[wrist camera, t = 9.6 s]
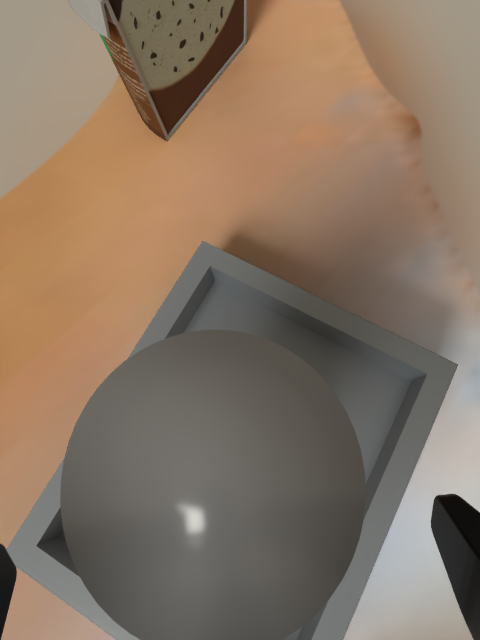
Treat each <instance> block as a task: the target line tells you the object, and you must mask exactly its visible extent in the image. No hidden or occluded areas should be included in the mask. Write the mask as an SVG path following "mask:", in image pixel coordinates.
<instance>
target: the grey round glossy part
mask: <svg viewBox="0 0 480 640" xmlns="http://www.w3.org/2000/svg"><path fill="white" fill-rule="evenodd" d="M365 500H366V484H365V469H364V464H363V458H362V453H361V448H360V445H359V442H358V439H357V436H356V432H355V429H354V427H353V425H352V423H351V420H350V418H349V416H348V414H347V412H346V410H345V408H344V407H343V405H342V403H341V402H340V400H339V398H338V397H337V395H336V394H335V392H334V391H333V390H332V389H331V387H330V386H329V385H328V384H327V382H326V381H325V380H324V379H323V378H322V377H321V376H320V375H319V374H318V373H317V372H316V371H315V370H314V369H313V368H312V367H311V366H310V365H309V364H308V363H306V362H305V361H304V360H302V359H301V358H300V357H298V356H297V355H296V354H294V353H293V352H291V351H289V350H287V349H286V348H284V347H282V346H281V345H279V344H277V343H274V342H272V341H269V340H267V339H265V338H262V337H259V336H255V335H251V334H248V333H244V332H237V331H230V330H201V331H193V332H187V333H183V334H179V335H175V336H172V337H169V338H166V339H164V340H161V341H158V342H156V343H154V344H152V345H150V346H148V347H146V348H144V349H142V350H141V351H139V352H137V353H136V354H134V355H133V356H132V357H130V358H129V359H127V360H126V361H124V362H123V363H122V364H121V365H120V366H119V367H118V368H116V369H115V370H114V371H113V372H112V373H111V374H110V375H109V376H108V377H107V378H106V379H105V380H104V382H103V383H102V384H101V385H100V386H99V387H98V388H97V390H96V391H95V392H94V394H93V395H92V397H91V398H90V400H89V401H88V402H87V404H86V405H85V407H84V409H83V411H82V413H81V415H80V417H79V419H78V420H77V422H76V425H75V427H74V430H73V432H72V435H71V437H70V440H69V443H68V447H67V451H66V454H65V458H64V462H63V469H62V476H61V490H60V506H61V516H62V526H63V530H64V534H65V539H66V543H67V547H68V550H69V552H70V555H71V558H72V561H73V563H74V566H75V568H76V570H77V572H78V574H79V576H80V578H81V580H82V582H83V583H84V585H85V587H86V588H87V590H88V591H89V593H90V594H91V595H92V597H93V598H94V600H95V601H96V602H97V604H98V605H99V606H100V607H101V608H102V609H103V610H104V611H105V612H106V613H107V615H108V616H109V617H110V618H111V619H112V620H113V621H115V622H116V623H117V624H118V625H120V626H121V627H122V628H123V629H125V630H126V631H127V632H128V633H130V634H131V635H133V636H135V637H137V638H138V639H140V640H282V639H284V638H285V637H287V636H289V635H290V634H292V633H293V632H295V631H297V630H298V629H299V628H300V627H302V626H303V625H304V624H305V623H306V622H308V621H309V620H310V619H311V618H312V617H313V616H315V615H316V613H317V612H318V611H319V610H320V609H321V608H322V607H323V606H324V604H325V603H326V602H327V601H328V600H329V599H330V598H331V596H332V595H333V593H334V592H335V590H336V589H337V587H338V586H339V584H340V583H341V581H342V580H343V578H344V576H345V574H346V572H347V570H348V568H349V565H350V563H351V561H352V559H353V557H354V554H355V551H356V548H357V545H358V542H359V539H360V535H361V530H362V525H363V520H364V514H365Z"/></svg>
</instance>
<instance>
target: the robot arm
mask: <svg viewBox="0 0 480 640" xmlns="http://www.w3.org/2000/svg"><path fill="white" fill-rule="evenodd" d="M431 528H432V532H433V535H434V538H435V541H436V544H437V546H438V549H439V552H440V555H441V557H442V560H443V563H444V566H445V569H446V571H447V574H448V577H449V580H450V582H451V585H452V588H453V591H454V593H455V596H456V599H457V602H458V604H459V607H460V610H461V612H462V615H463V617H464V619H465V622H466V624H467V626H468V628H469V630H470V633H471V635H472V637H473V639H474V640H480V513H479V512H478V511H477V510H476V509H475V508H473V507H472V506H471V505H470V504H468V503H467V502H466V501H465V500H464V499H462V498H461V497H460V496H458V495H456V494H446V495H438V496H436V497H435V499H434V504H433V511H432V518H431ZM16 575H17V571H16V566H15V564H14V562H13V561H12V559H11V557H10V555H9V554H8V552H7V550H6V549H5V547H4V546H3V545H2V544H0V640H1V637H2V633H3V629H4V625H5V621H6V617H7V613H8V609H9V605H10V601H11V597H12V593H13V589H14V585H15V581H16Z"/></svg>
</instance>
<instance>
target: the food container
mask: <svg viewBox="0 0 480 640" xmlns="http://www.w3.org/2000/svg"><path fill="white" fill-rule="evenodd" d="M67 1H68V3H69V5H70V7H71V8H72V10H73V11H74V12H75V13H76V14H77V16H78V17H79V18H80V19H81V20H82V21H83V22H84V23H86V24H87V25H88V26H89V27H91V28H92V29H93V30H94V31H96V32H98V33H99V34H100V36H101V38H102V40H103V42H104V44H105V46H106V48H107V50H108V52H109V54H110V56H111V58H112V60H113V62H114V64H115V66H116V68H117V70H118V72H119V74H120V76H121V78H122V80H123V82H124V84H125V86H126V88H127V90H128V92H129V94H130V96H131V98H132V100H133V102H134V104H135V106H136V108H137V110H138V112H139V114H140V116H141V118H142V120H143V121H144V123H145V124H146V125H147V126H148V128H149V129H150V130H152V131H153V132H154V133H155V134H156V135H157V136H159V137H161V138H162V139H164V140H166V141H168V140H169V139H170V138H171V137H172V135H173V134H174V133H175V132H176V130H177V129H178V128H179V127H180V125H181V124H182V123H183V122H184V120H185V119H186V118H187V117H188V115H189V114H190V113H191V112H192V110H193V109H194V108H195V107H196V105H197V104H198V103H199V102H200V101H201V99H202V98H203V97H204V96H205V94H206V93H207V92H208V91H209V89H210V88H211V87H212V86H213V84H214V83H215V82H216V81H217V79H218V78H219V77H220V76H221V74H222V73H223V72H224V71H225V69H226V68H227V67H228V66H229V65H230V63H231V62H232V61H233V60H234V58H235V57H236V56H237V55H238V53H239V52H240V51H241V50H242V48H243V47H244V46H245V45H246V43H247V13H248V0H67Z"/></svg>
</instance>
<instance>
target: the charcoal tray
mask: <svg viewBox="0 0 480 640" xmlns="http://www.w3.org/2000/svg"><path fill="white" fill-rule="evenodd" d="M201 330H230V331H237V332H244V333H248V334H251V335H255V336H259V337H262V338H265V339H267V340H269V341H272V342H274V343H277V344H279V345H281V346H282V347H284V348H286V349H287V350H289V351H291V352H293V353H294V354H296V355H297V356H298V357H300V358H301V359H302V360H304V361H305V362H306V363H308V364H309V365H310V366H311V367H312V368H313V369H314V370H315V371H316V372H317V373H318V374H319V375H320V376H321V377H322V378H323V379H324V380H325V381H326V382H327V384H328V385H329V386H330V387H331V389H332V390H333V391H334V392H335V394H336V395H337V397H338V398H339V400H340V402H341V403H342V405H343V407H344V408H345V410H346V412H347V414H348V416H349V418H350V420H351V423H352V425H353V427H354V429H355V432H356V436H357V439H358V442H359V445H360V448H361V453H362V458H363V464H364V469H365V484H366V500H365V514H364V520H363V525H362V530H361V535H360V539H359V542H358V545H357V548H356V551H355V554H354V557H353V559H352V561H351V563H350V565H349V568H348V570H347V572H346V574H345V576H344V578H343V580H342V581H341V583H340V584H339V586H338V587H337V589H336V590H335V592H334V593H333V595H332V596H331V598H330V599H329V600H328V601H327V602H326V603H325V604H324V606H323V607H322V608H321V609H320V610H319V611H318V612H317V613H316V615H315V616H313V617H312V618H311V619H310V620H309V621H308V622H306V623H305V624H304V625H303V626H302V627H300V628H299V629H298V630H297V631H295V632H293V633H292V634H290V635H289V636H287V637H285V638H284V639H282V640H343V638H344V636H345V633H346V631H347V629H348V626H349V624H350V621H351V619H352V617H353V614H354V612H355V610H356V607H357V605H358V602H359V600H360V598H361V595H362V593H363V590H364V588H365V586H366V583H367V581H368V579H369V576H370V574H371V571H372V569H373V567H374V564H375V562H376V559H377V557H378V555H379V552H380V550H381V547H382V545H383V543H384V540H385V538H386V536H387V533H388V531H389V528H390V526H391V524H392V521H393V519H394V516H395V514H396V512H397V509H398V507H399V505H400V502H401V500H402V497H403V495H404V493H405V490H406V488H407V485H408V483H409V481H410V478H411V476H412V474H413V471H414V469H415V466H416V464H417V462H418V459H419V457H420V454H421V452H422V450H423V447H424V445H425V443H426V440H427V438H428V435H429V433H430V431H431V428H432V426H433V423H434V421H435V419H436V416H437V414H438V411H439V409H440V407H441V404H442V402H443V400H444V397H445V395H446V392H447V390H448V388H449V385H450V383H451V380H452V378H453V376H454V373H455V371H456V369H457V366H458V364H456V363H454V362H452V361H449V360H447V359H445V358H443V357H441V356H439V355H437V354H435V353H433V352H431V351H429V350H427V349H425V348H423V347H421V346H419V345H416V344H414V343H412V342H410V341H408V340H406V339H404V338H402V337H400V336H398V335H396V334H394V333H392V332H390V331H388V330H386V329H383V328H381V327H379V326H377V325H375V324H373V323H371V322H369V321H367V320H365V319H363V318H361V317H359V316H357V315H355V314H353V313H350V312H348V311H346V310H344V309H342V308H340V307H338V306H336V305H334V304H332V303H330V302H328V301H326V300H324V299H322V298H320V297H317V296H315V295H313V294H311V293H309V292H307V291H305V290H303V289H301V288H299V287H297V286H295V285H293V284H291V283H289V282H287V281H285V280H282V279H280V278H278V277H276V276H274V275H272V274H270V273H268V272H266V271H264V270H262V269H260V268H258V267H256V266H254V265H252V264H249V263H247V262H245V261H243V260H241V259H239V258H237V257H235V256H233V255H231V254H229V253H227V252H225V251H223V250H221V249H219V248H216V247H214V246H212V245H210V244H208V243H206V242H204V241H202V243H201V244H200V246H199V247H198V249H197V251H196V252H195V254H194V255H193V257H192V258H191V260H190V262H189V263H188V265H187V266H186V268H185V269H184V271H183V273H182V274H181V276H180V277H179V279H178V280H177V282H176V284H175V285H174V287H173V288H172V290H171V291H170V293H169V295H168V296H167V298H166V299H165V301H164V302H163V304H162V306H161V307H160V309H159V310H158V312H157V313H156V315H155V317H154V318H153V320H152V321H151V323H150V324H149V326H148V328H147V329H146V331H145V332H144V334H143V335H142V337H141V339H140V340H139V342H138V343H137V345H136V346H135V348H134V350H133V351H132V353H131V354H130V356H129V357H128V359H129V358H130V357H132V356H133V355H134V354H136V353H137V352H139V351H141V350H142V349H144V348H146V347H148V346H150V345H152V344H154V343H156V342H158V341H161V340H164V339H166V338H169V337H172V336H175V335H179V334H183V333H187V332H193V331H201ZM63 462H64V460H63V461H62V463H61V464H60V466H59V467H58V469H57V471H56V472H55V474H54V475H53V477H52V478H51V480H50V482H49V483H48V485H47V486H46V488H45V489H44V491H43V493H42V494H41V496H40V497H39V499H38V500H37V502H36V504H35V505H34V507H33V508H32V510H31V511H30V513H29V515H28V516H27V518H26V519H25V521H24V522H23V524H22V526H21V527H20V529H19V530H18V532H17V533H16V535H15V537H14V538H13V540H12V541H11V543H10V544H9V546H8V548H7V549H6V550H7V552H8V554H9V555H10V557H11V559H12V561H13V562H14V564H15V566H16V567H17V568H19V569H20V570H21V571H23V572H24V573H25V574H27V575H28V576H30V577H31V578H32V579H34V580H35V581H36V582H38V583H39V584H41V585H42V586H43V587H45V588H46V589H47V590H49V591H50V592H52V593H53V594H54V595H56V596H57V597H58V598H60V599H61V600H62V601H64V602H65V603H67V604H68V605H69V606H71V607H72V608H73V609H75V610H76V611H78V612H79V613H80V614H82V615H83V616H84V617H86V618H87V619H89V620H90V621H91V622H93V623H94V624H95V625H97V626H98V627H100V628H101V629H102V630H104V631H105V632H106V633H108V634H109V635H110V636H112V637H113V638H115V639H116V640H140V639H138V638H137V637H135V636H133V635H131V634H130V633H128V632H127V631H126V630H125V629H123V628H122V627H121V626H120V625H118V624H117V623H116V622H115V621H113V620H112V619H111V618H110V617H109V616H108V615H107V613H106V612H105V611H104V610H103V609H102V608H101V607H100V606H99V605H98V604H97V602H96V601H95V600H94V598H93V597H92V595H91V594H90V593H89V591H88V590H87V588H86V587H85V585H84V583H83V582H82V580H81V578H80V576H79V574H78V572H77V570H76V568H75V566H74V563H73V561H72V558H71V555H70V552H69V550H68V547H67V543H66V539H65V534H64V530H63V526H62V516H61V506H60V490H61V476H62V469H63Z"/></svg>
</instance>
